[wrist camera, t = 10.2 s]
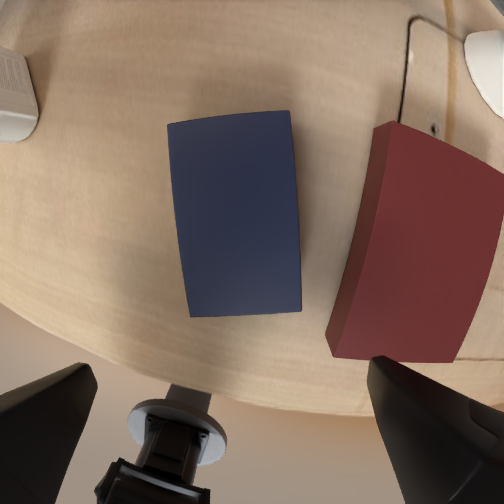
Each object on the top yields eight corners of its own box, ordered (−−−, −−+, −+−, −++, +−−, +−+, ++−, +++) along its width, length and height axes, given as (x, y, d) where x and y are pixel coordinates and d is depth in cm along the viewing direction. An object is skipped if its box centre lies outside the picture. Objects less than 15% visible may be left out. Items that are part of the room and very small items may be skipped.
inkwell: (521, 142, 15) (598, 142, 5) (363, 24, 14) (416, -54, 5) (525, 73, 13) (586, 58, 3) (382, -35, 12) (421, -97, 2)
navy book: (296, 289, 19) (302, 312, 16) (201, 295, 20) (189, 317, 16) (285, 123, 17) (290, 109, 13) (183, 133, 17) (165, 124, 14)
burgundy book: (436, 345, 20) (452, 363, 17) (324, 335, 20) (332, 357, 17) (485, 175, 16) (509, 177, 13) (373, 128, 16) (392, 119, 13)
